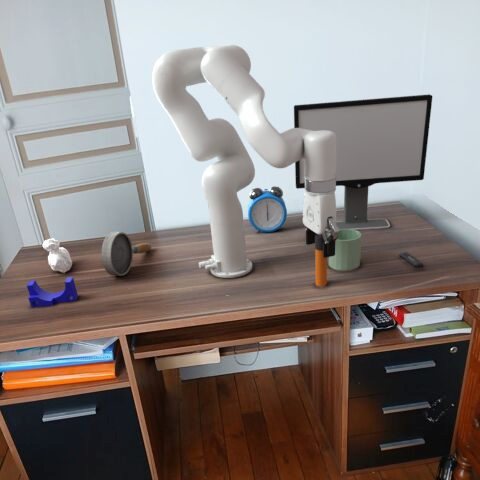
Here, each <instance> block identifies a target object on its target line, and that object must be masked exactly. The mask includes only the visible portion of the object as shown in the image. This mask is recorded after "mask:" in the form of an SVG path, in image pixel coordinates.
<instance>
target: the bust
mask: <svg viewBox="0 0 480 480" xmlns="http://www.w3.org/2000/svg"><path fill="white" fill-rule="evenodd" d="M60 244H61V242H60V241H59V240H57V239H55V237H53V238H51V237H50V238H48V239H45V240H43V243H42V245H41V246H42V248H43V249H44V250H45V251H47V252H49V254H48V255H47V260H48V265H49V266H50V268H51V270H53V271H54V272H60V273H62V274H65V273H66V272H69V271H70V270H71V268H72V266H73V260H72V259H71V254H70V252H69V251H68V250H67V249H66V248H65V247H63V246H62V247H60V246H61V245H60Z"/></svg>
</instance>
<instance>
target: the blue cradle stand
mask: <svg viewBox="0 0 480 480" xmlns="http://www.w3.org/2000/svg"><path fill="white" fill-rule="evenodd" d="M64 285H65V286H64V290H62V291H59V292H49V291H46V290H44V289H43V288H42V287H40V286H39V284H38V283H37V280H30V281H29V282H28V283H27V285H26V288H27V292H28V294H29V296H28V298H27V299H28V303H29V305H30V307H31V308H41V307H52V306H54V305H55V304H57V303H58V304H59V303H68V302H69V303H70V302H76V301H77V300H78V298H79V293H78V290H77V287H76V283H75V279H74V277H73V276H70V277H66V279H65V282H64Z"/></svg>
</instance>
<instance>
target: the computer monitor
mask: <svg viewBox="0 0 480 480" xmlns="http://www.w3.org/2000/svg"><path fill="white" fill-rule="evenodd" d="M432 105H433V95H432V94H430V93H429V94H428V93H427V94H417V95H406V96H405V95H404V96H392V97H382V98H381V97H380V98H367V99H356V100H355V99H354V100H343V101H331V102H319V103H318V102H317V103H307V104H305V103H304V104H295V105H293V128H302V129H307V130H311V131H320V130H327V131H332V132H334V133H335V135H336V138H337V151H336V187H340V186H342V187H344V196H343V198H344V199H343V220H336V225H337V227H338V228H339V229H353V230H357V231H363V230H378V229H381V230H383V229H389V228H390V227H391V224H390V222H389V220H388V219H386V218H381V217H380V218H368V203H369V202H368V200H369V187H371V186H373V185H376V184H385V183H386V184H387V183H399V182H414V181H416V182H417V181H423V180H424V179H425V172H426V170H425V169H426V162H427V161H426V160H427V152H428V143H429V134H430V123H431V113H432ZM294 175H295V177H294V179H295V188H296V189H297V190H298V189H305V161H304V159H302V160H299V161H297V162H295V163H294ZM326 230H329V229H326Z"/></svg>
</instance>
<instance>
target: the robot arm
mask: <svg viewBox="0 0 480 480" xmlns="http://www.w3.org/2000/svg"><path fill="white" fill-rule="evenodd" d="M251 68H252V62H251V58H250V55H249V54H248V52H247V51H246V50H245V49H244V48H242V47H241V46H239V45H234V44H231V45H230V44H229V45H221V46H219V45H217V46H216V45H215V46H196V47H189V48H182V49H175V50H171V51H167V52H165V53H164V54H162V55H161V56H159V58H157V59H156V61H155V64H154V65H153V68H152V74H151V80H152V88H153V91H154V94H155V96H156V99H157V100H158V102H159V103H160V105H161V107H162V108H163V109H164V111H165V112H166V114H167V115H168V118H170V120H171V122H172V123H173V125H174V128H175V130H176V131H177V133H178V135H179V136H180V138H181V141H182V142H183V143H184V146H185V147H186V149H187V151H188V152H189V154H190V155H191V157H192V158H193V159H194V160H196V161H197V162H207V161H210V160H213V159H216V158H217V160H218V161H216V162H214V163H212V164H210V165H209V166H208V167H207V168H206V169H205V170H204V172H203V174H202V177H201V187H202V190H203V194H204V197H205V200H206V204H207V210H208V218H209V226H210V234H211V242H212V251H213V252H212V253H213V254H212V255H211V257H210V258H209V259H208V260H202V261H199V262H198V267H199V269H200V270H201V269H205V271H209V270H210V273H211V274H212V276H215V277H217V278H220V279H221V278H222V279H234V278H239V277H243V276H245V275H248V274H249V273H250V272H251V271H252V270H253V262H252V261H251V260H250V259H248V258H247V249H246V248H247V247H246V246H247V245H246V237H245V223H244V211H243V206H242V203H241V201H240V199H239V197H238V192H240V191H241V190H243V189H245V188H246V187H248V186H249V185H251V184H252V182H253V181H254V179H255V176H256V169H255V165H254V162H253V160H252V158H251V156H250V154H249V152H248V149H247V148H246V146H245V144H244V143H243V141H242V139H241V137H240V135H239V133H238V132H237V129H236V128H235V126H234V125H233V124H232V123H231V122H229V121H228V120H227V119H224V118H220V117H216V118H211V119H209V118H208V116H207V115H206V114H205V112H204V110H203V108H202V107H201V105H200V103H199V101H198V100H197V99H196V98H195V97H194V96H193V95H192V94H191V93H190V92H189V91H188V90H187V87H191V86H194V85H195V86H196V85H199V84H203V83H208V85H209V86H210V87H211V88H212V89H213V90H214V91H215V92H216V93H217V95H219V96H220V98H221V99H222V100H223V101H224V102H225V103H226V104H227V105H228V106H229V107H230V108H231V110H232V111H234V113H235V114H236V115H237V116H238V118H239V120H240V126H241V129H242V131H243V134H244V136H245V138H246V140H247V142H248V144H249V145H250V147H251V148H252V149H253V150H254V151H255V153H256V154H258V155H259V157H261V159H262V160H263V161H265V163H267V164H268V165H270V166H271V167H272V168H275V169H286V168H287V167H289V166H291V165H293V164H295V162H297V161H299V160H302V159H304V161H305V188H304V193H303V200H302V201H303V202H302V223H303V225H304V229H305V245H307V246H309V245H313V244H314V245H315V235H316V234H319V235H320V234H322V235H323V238H324V241H325V242H324V243H323V257H324V258H327V259H328V257H331V256H334V255H335V242H336V241H337V238H338V234H339V228H338V227H337V225H336V221H337V200H336V199H337V198H336V193H335V192H336V191H337V186H336V151H337V138H336V135H335V133H334V132H332V131H327V130H320V131H311V130H307V129H302V128H294V127H293V128H290V129H288V130H285V131H283V132H279V131H278V130H277V128H275V127H274V126H273V124H272V123H271V122H270V121H269V119H268V117H267V116H266V113H265V111H264V107H263V103H264V99H265V97H266V91H265V89H264V88H263V87H262V85H261V84H259V83H258V81H257V80H256V79H255V78H254V77H253V76H252V75H251V74H250V73H251V70H252V69H251ZM326 229H329V230H326ZM329 233H330V234H331V235H330V236H329V237H327V235H329Z"/></svg>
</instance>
